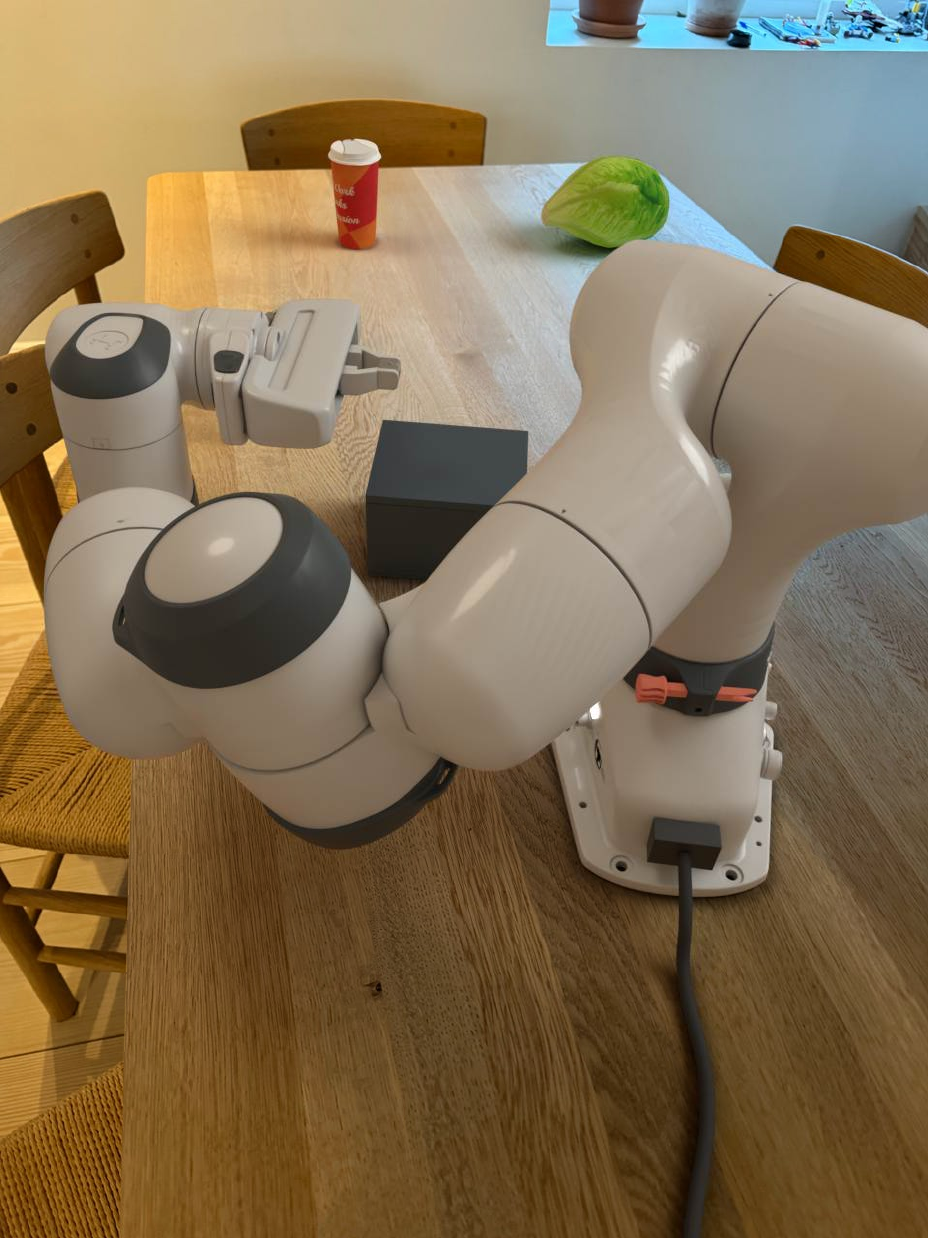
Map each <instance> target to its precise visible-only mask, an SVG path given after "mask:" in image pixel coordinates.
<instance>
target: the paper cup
mask: <svg viewBox="0 0 928 1238" xmlns="http://www.w3.org/2000/svg"><path fill="white" fill-rule="evenodd" d="M329 149H330V151H328V154H327V157H328V159H329V160H330V166H331V176H332V177H331V178H332V186H333V187H332V188H333V196H334V197H333V198H334V206H335V216H336V224H337V235H338V241H339V244H340V245H341V246H342V247H344V248H347V249H350V250H367V249H370V248H372V247H373V246H375V245H376V236H377V235H376V234H377V219H378V218H377V217H378V216H377V215H378V195H379V194H378V189H379V168H380V167H379V166H380V165H379V163H380V160H381V159H382V155H381V153H380V151H379V147H378V145H377V143H375V142H373V141H370V140H368V139H361V138H353V140H352V139H351V138H349V139H343V140H342V141H341V140H336V141H334V142H332V144H331V145H330V148H329Z"/></svg>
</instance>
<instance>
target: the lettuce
mask: <svg viewBox="0 0 928 1238" xmlns="http://www.w3.org/2000/svg"><path fill="white" fill-rule="evenodd" d="M669 212H670V193H669V190H668V188H667V186H666V184H665V182H664V180H663V179H662V177H661V175H660V173H659V172H658V170H657V169H655V168H654V167H653V166H651V165H649V164H647V163H645V162H644V161H642V160H641V159H639V158H634V157H630V156H624V155H623V156H622V155H608V156H607V155H606V156H600V157H599V156H598V157H596V158H594V159H592V160H591V161H588V162H587V163H584V164H582V165H581V166H579V167H578V168H577V169H576V170H575V171H573V172H572V173H571V174H570V175H569V176H567V178H566V179H565V180H564V182H563V183H561V185H560V186H559V187H558V189H557V190H556V191H555V192H554V193H553V194H552V195H551V196H550V197H549V198H548V199H547V201H546V202H545V203H544V205H543V207H542V209H541V213H540V215H541V216H540V217H541V221H542V224H543V225H544V226H545V227H555V228H558V229H560V230H563V231H565V232H566V233H567V234H569V235H571V236H574V237H575V238H578V239H580V240H584V241H586V242H588V243H590V244H593V245H596V246H599V247H602V248H606V249H609V248H610V249H611V248H619V247H620V246H622V245H624V244H625V243H627V242H630V241H633V240H638V239H639V240H650V239H651V238H653V237H654V236H655V235H656V234H657V233H658V232H659V231H660V230H661V229H663V228H664V226H665V225H666V223H667V220H668V218H669Z"/></svg>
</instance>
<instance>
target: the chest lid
mask: <svg viewBox="0 0 928 1238" xmlns="http://www.w3.org/2000/svg"><path fill="white" fill-rule="evenodd" d="M380 425H381V426H380V429H379V435H378V440H377V443H376V448H375V452H374V457H373V460H372V465H371V470H370V473H369V478H368V482H367V486H366V491H365V495H364V497H365V498H364V499H365V501H364V502H365V504H366V503H377V504H390V505H403V506H415V507H428V508H441V509H453V510H466V511H478V512H488V511H489V510H490V509H491V508H492V507H493V506H494V505H495V504H496V503H497V502H498V501H499V500H500V499H502V498H503V497H504V496H505V495H506V494H507V493H508V492H509V491H510V490H511V489H512V488H513V487H514V486H515V485H516V484H517V483H518V482H519V481H520V480H521V479H522V478H523V477H524V476H525V475H526V474H527V473H528V460H529V458H528V457H529V456H528V455H529V430H523V429H522V430H521V429H508V428H495V427H484V426H483V427H482V426H471V425H470V426H469V425H457V424H445V423H444V424H443V423H432V422H431V423H430V422H419V421H406V420H405V421H404V420H395V419H394V420H393V419H382V422H381V424H380Z"/></svg>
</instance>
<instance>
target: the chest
mask: <svg viewBox="0 0 928 1238" xmlns="http://www.w3.org/2000/svg"><path fill="white" fill-rule="evenodd" d="M486 513H487V512H478V511H466V510H453V509H441V508H428V507H415V506H403V505H390V504H377V503H366V502H365V529H366V531H365V532H366V559H367V560H366V563H367V576H368V577H377V578H378V577H379V578H391V579H403V580H404V579H405V580H417V581H427V580H428V578H429V577H430V576H431V574H432V573H433V572H434V571H435V570H436V568H437V567H438V566H439V565H440V563H441V562H442V561H443V560H444V558H445V557H446V556H447V555H448V554H449V552H450V551H451V550H452V549H453V548H454V547H455V546H456V545H457V543H458V542H459V541H460V540H461V539H462V538H463V537H464V536H465V535H466V533H467V532H468V531H469V530H470V529H471V528H472V527H473V526H474V525H475V524H476V523H477V522H478V521H479V520H480V519H481V518H482V517H483V516H484V515H485V514H486Z"/></svg>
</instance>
